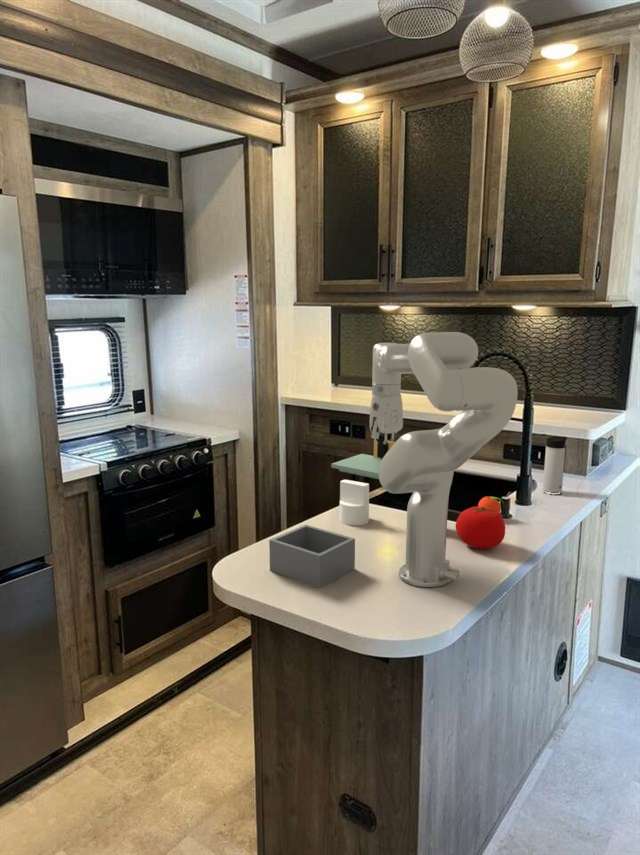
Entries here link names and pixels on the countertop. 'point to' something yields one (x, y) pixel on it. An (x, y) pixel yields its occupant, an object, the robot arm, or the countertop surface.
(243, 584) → the countertop surface
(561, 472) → the travel mug
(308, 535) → the tub
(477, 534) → the tomato
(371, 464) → the door
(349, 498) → the cylinder with rectangular tab
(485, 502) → the clementine
